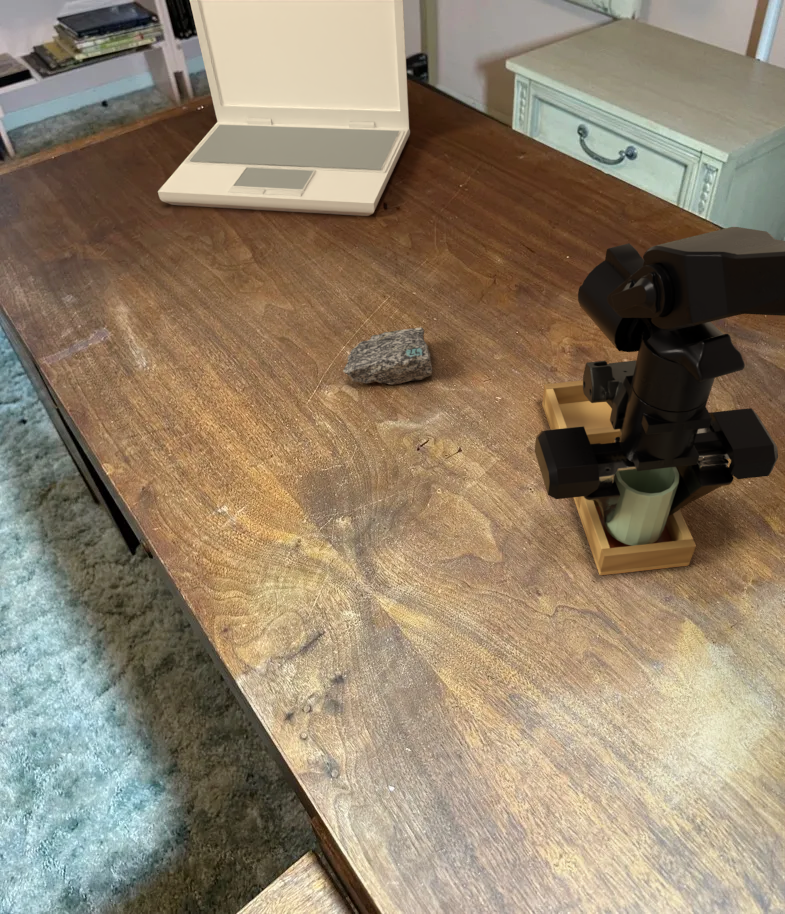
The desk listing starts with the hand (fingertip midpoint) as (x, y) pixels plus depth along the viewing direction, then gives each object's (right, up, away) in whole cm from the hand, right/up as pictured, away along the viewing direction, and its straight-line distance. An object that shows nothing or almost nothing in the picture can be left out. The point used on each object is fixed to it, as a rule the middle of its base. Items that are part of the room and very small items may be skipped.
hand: (635, 515), depth 70 cm
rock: (-22, +15, +21) cm, 34 cm away
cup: (0, -1, +1) cm, 1 cm away
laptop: (-39, +52, +57) cm, 87 cm away
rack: (-1, +3, +7) cm, 8 cm away
